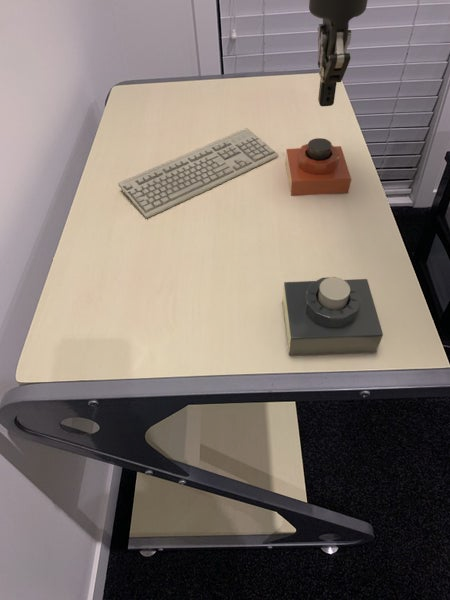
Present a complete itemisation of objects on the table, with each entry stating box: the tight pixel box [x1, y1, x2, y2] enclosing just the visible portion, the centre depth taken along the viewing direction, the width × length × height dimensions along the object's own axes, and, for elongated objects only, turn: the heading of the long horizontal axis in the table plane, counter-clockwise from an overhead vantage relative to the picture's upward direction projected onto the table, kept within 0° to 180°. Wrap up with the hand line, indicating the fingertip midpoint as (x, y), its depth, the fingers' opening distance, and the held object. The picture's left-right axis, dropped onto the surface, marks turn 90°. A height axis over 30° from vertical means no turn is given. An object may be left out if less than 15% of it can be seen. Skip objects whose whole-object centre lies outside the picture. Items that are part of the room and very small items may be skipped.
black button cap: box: [307, 137, 333, 161], centre depth 74 cm, size 4×4×2 cm
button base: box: [285, 143, 352, 197], centre depth 76 cm, size 10×10×5 cm
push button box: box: [282, 276, 384, 356], centre depth 55 cm, size 11×9×6 cm
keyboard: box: [117, 127, 279, 219], centre depth 80 cm, size 29×10×2 cm, turn 125°
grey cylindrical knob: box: [318, 276, 350, 310], centre depth 52 cm, size 4×4×2 cm
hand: (325, 103), depth 67 cm, fingers closed
